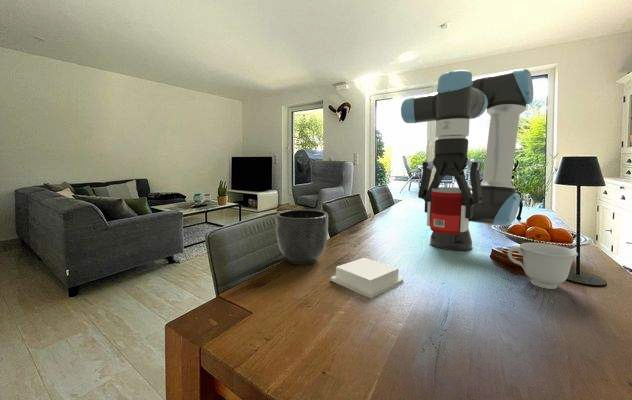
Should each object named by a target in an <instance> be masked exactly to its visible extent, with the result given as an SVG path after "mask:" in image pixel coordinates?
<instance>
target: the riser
mask: <svg viewBox="0 0 632 400" xmlns="http://www.w3.org/2000/svg"><path fill="white" fill-rule="evenodd" d="M399 270H400V269H399V268H398V267H394V266H392V265H388V264H385V263H383V262H380V261H376V260H373V259H370V258H367V257H362V258H359V259H356V260H353V261H350V262H346V263H344V264H340V265H338V266H335V275H333V276H330V282H331V281H332V282H334V283H335V284H338V285H340V286H343V287H344V288H347V289H348V290H351V291H353V292H355V293H358V294H359V295H362V296H364V297H366V298H369V299H373V298H375V297H377V296H379V295H381V294H383V293H385V292H387V291H389V290H392V289H393V288H395V287H396V288H397V286H400V285H401V284H404V279H403V278H400V277H399Z"/></svg>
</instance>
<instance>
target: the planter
mask: <svg viewBox="0 0 632 400" xmlns="http://www.w3.org/2000/svg"><path fill="white" fill-rule="evenodd" d="M275 231H276V232H275V233H276V240H277V245H278V248H279V250H280V252H281V254H282V256H284V257H285V259H287V261H288V262H289V263H290V262H291V263H290V264H292V263H293V265H295V264H297V266H306V265H307V266H308V265H311V264H313V263H316V261H317V259H318V258H319V257H320V256H321V255H322V254H323V252H324V251H325V249H326V247H327V246H326V245H327V241H328V233H329V213H328V212H326V211H324V210H317V209H289V210H282V211H279V212H277V213H276V214H275Z"/></svg>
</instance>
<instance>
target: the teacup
mask: <svg viewBox="0 0 632 400" xmlns="http://www.w3.org/2000/svg"><path fill="white" fill-rule="evenodd" d="M514 251H515V252H516V251H517V253H518V256H522V260H523V261H522V262H521V261H519V260H517V259H516V258H514V257H513V255H512V253H514ZM507 256H508V257H507V258H508V259H509V260H510V261H511V262H512V263H514V264H517V265H519V266H521V268H522V269H523V270H524V274H525V275H526V276H527V277H528V278H530V284H532V285H533V286H535V287H538V288H541V289H548V290H553V289H557V288H558V285H559V284H562V283H564V282H565V281H566V280H567V279H568V277H569V276H570V275H569V274H570V271H571V268H572V263H573V262H574V260H575V257H577V256H579V254H578V252H577V251H575V250H574V249H572V248H569V247H565V246H562V245H557V244H550V243H544V242H522V243H520V244H519V246H511V247H509V248H508V251H507Z"/></svg>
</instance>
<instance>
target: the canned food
mask: <svg viewBox="0 0 632 400" xmlns="http://www.w3.org/2000/svg"><path fill="white" fill-rule="evenodd" d="M464 204H465V202H464V200H463V197H462V192H461V190H460V189H459V188H451V187H449V186H448V187H447V186H444V187H443V186H442V187H440V186H439V187H438V188H435V189H434V188H432V193H431V214H430V226H429V228H430V230H431V231H432V232H437V233H441V234H461V233H462V232H460V223H461V207H462V205H464Z"/></svg>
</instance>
